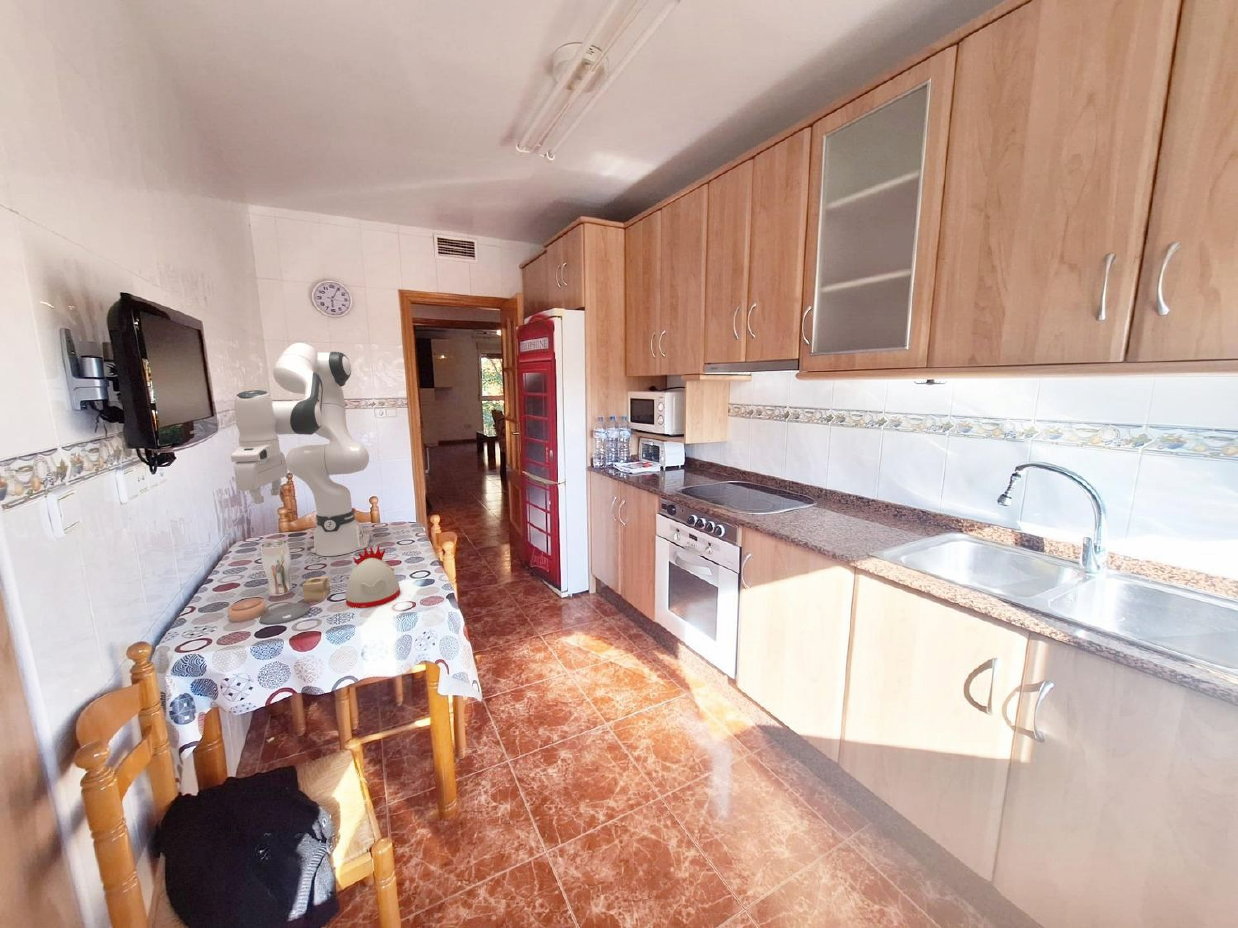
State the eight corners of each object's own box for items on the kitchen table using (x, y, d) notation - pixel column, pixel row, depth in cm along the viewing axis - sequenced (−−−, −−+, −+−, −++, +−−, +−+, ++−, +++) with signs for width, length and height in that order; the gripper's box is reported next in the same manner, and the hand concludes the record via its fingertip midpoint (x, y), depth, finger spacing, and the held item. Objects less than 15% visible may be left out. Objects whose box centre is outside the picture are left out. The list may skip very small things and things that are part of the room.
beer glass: (301, 588, 147) (294, 540, 144) (279, 598, 140) (272, 548, 138) (282, 586, 149) (276, 538, 146) (260, 595, 142) (253, 546, 140)
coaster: (273, 606, 135) (273, 604, 135) (317, 602, 137) (316, 600, 137) (252, 626, 124) (251, 624, 124) (300, 621, 126) (299, 619, 126)
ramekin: (239, 610, 134) (237, 598, 133) (272, 607, 135) (270, 595, 135) (222, 624, 126) (220, 611, 125) (257, 620, 128) (255, 608, 127)
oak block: (311, 594, 143) (309, 577, 142) (330, 592, 144) (328, 575, 143) (304, 601, 138) (302, 584, 137) (323, 599, 139) (321, 582, 138)
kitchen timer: (402, 600, 138) (397, 549, 135) (346, 612, 131) (340, 559, 128) (397, 583, 149) (392, 536, 147) (345, 593, 143) (339, 544, 140)
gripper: (266, 445, 145) (273, 491, 147) (226, 456, 125) (235, 509, 127) (290, 444, 146) (296, 489, 148) (254, 455, 126) (262, 507, 129)
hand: (267, 498), depth 138 cm, fingers open, 8 cm apart
